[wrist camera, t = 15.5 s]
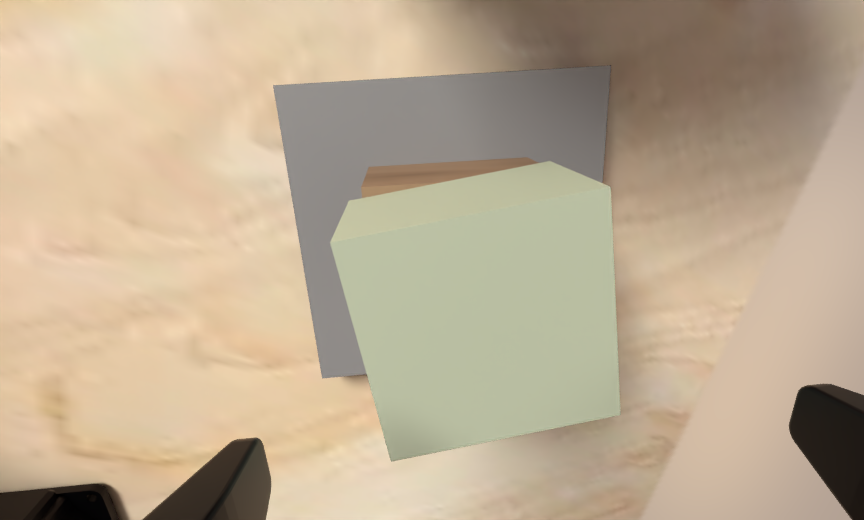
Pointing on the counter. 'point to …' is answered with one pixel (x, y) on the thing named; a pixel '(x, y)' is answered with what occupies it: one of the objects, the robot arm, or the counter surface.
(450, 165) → the walnut block
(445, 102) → the plate
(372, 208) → the sage block
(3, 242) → the counter surface
